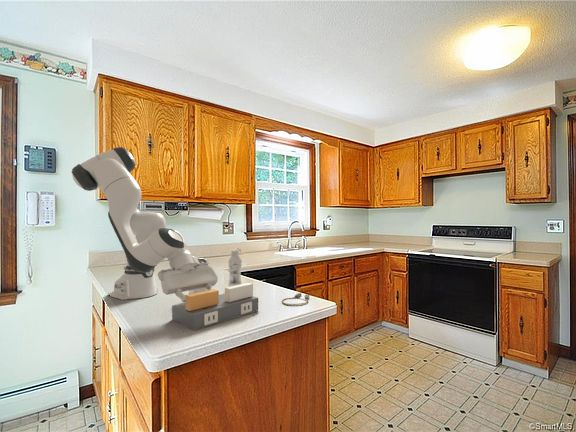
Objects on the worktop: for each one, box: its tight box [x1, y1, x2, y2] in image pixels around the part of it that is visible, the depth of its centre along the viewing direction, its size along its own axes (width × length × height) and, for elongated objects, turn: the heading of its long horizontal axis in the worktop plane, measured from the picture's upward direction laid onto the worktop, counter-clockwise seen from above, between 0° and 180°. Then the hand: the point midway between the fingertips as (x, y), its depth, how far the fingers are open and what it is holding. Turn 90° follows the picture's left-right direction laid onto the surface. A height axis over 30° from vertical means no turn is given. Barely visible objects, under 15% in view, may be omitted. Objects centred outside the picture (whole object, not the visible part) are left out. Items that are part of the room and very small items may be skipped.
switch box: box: [171, 293, 259, 331], centre depth 110 cm, size 22×27×5 cm
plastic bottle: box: [227, 249, 243, 287], centre depth 142 cm, size 6×7×20 cm
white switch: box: [224, 282, 254, 302], centre depth 112 cm, size 3×11×5 cm, turn 137°
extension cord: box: [281, 292, 310, 307], centre depth 127 cm, size 12×16×2 cm
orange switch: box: [184, 288, 220, 311], centre depth 101 cm, size 3×11×5 cm, turn 137°
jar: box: [188, 288, 208, 294], centre depth 130 cm, size 9×8×12 cm
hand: (198, 298), depth 102 cm, fingers open, 8 cm apart
